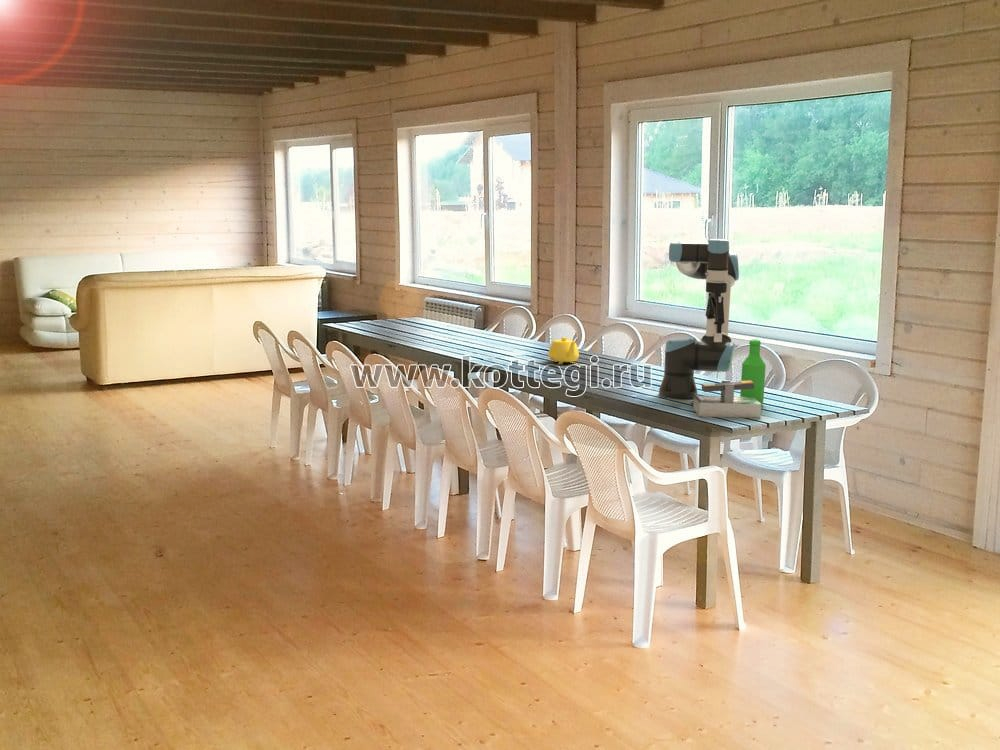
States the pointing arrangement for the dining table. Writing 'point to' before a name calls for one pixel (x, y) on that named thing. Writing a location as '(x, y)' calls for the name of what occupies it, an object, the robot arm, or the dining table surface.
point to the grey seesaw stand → (726, 405)
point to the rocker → (721, 386)
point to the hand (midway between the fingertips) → (713, 339)
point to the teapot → (563, 350)
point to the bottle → (754, 372)
